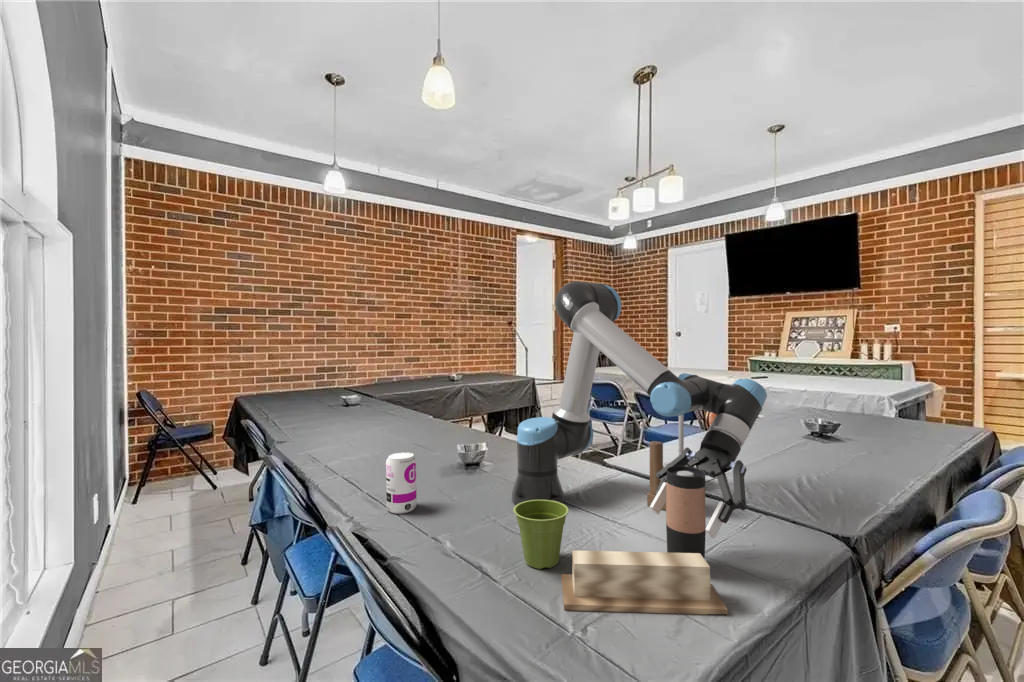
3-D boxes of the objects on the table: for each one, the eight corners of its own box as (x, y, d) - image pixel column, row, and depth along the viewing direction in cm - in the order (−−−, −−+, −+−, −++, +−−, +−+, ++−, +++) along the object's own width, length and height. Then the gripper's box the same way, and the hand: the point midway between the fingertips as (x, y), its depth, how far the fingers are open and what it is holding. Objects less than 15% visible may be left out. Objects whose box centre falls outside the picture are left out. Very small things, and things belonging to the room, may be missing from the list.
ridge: (564, 609, 79) (563, 570, 79) (561, 579, 89) (561, 544, 89) (727, 615, 77) (727, 574, 77) (706, 582, 87) (706, 547, 87)
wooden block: (684, 516, 119) (684, 448, 119) (646, 506, 126) (646, 442, 126) (690, 512, 122) (690, 446, 121) (652, 502, 129) (652, 440, 129)
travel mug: (660, 558, 97) (660, 466, 97) (694, 556, 98) (694, 465, 97) (676, 577, 89) (676, 477, 89) (713, 575, 90) (713, 476, 90)
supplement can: (422, 505, 128) (421, 453, 128) (403, 516, 120) (403, 461, 120) (399, 501, 131) (399, 450, 131) (380, 511, 124) (379, 457, 124)
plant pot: (571, 550, 101) (571, 500, 101) (565, 578, 89) (565, 522, 89) (520, 545, 103) (519, 496, 103) (508, 572, 92) (507, 517, 92)
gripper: (789, 462, 91) (746, 556, 83) (684, 438, 112) (642, 511, 104) (775, 440, 88) (729, 534, 80) (670, 419, 109) (626, 493, 101)
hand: (680, 521), depth 92 cm, fingers open, 13 cm apart
